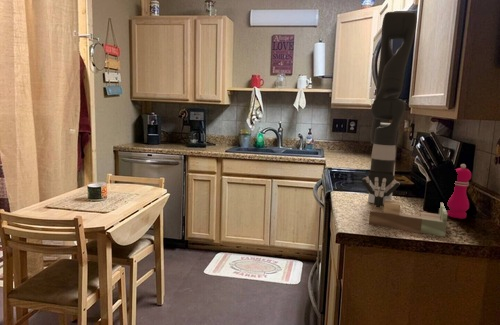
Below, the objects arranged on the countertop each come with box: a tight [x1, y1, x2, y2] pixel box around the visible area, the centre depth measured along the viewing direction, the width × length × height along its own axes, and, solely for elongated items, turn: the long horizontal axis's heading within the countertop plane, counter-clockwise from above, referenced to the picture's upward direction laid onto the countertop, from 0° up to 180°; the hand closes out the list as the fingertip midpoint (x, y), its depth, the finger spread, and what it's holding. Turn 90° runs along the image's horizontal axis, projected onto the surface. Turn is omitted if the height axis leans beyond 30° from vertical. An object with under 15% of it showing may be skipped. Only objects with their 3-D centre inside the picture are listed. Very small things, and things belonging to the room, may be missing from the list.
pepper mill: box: [447, 163, 472, 220], centre depth 136 cm, size 7×7×20 cm
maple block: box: [382, 199, 402, 215], centre depth 126 cm, size 5×5×5 cm
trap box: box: [368, 202, 448, 237], centre depth 127 cm, size 17×23×7 cm
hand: (378, 206), depth 127 cm, fingers closed
